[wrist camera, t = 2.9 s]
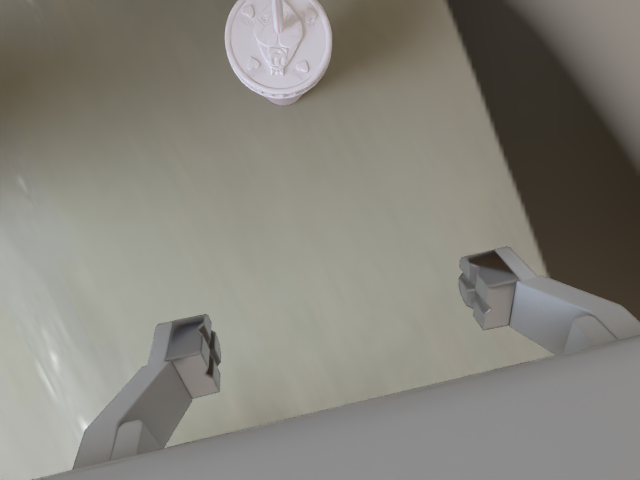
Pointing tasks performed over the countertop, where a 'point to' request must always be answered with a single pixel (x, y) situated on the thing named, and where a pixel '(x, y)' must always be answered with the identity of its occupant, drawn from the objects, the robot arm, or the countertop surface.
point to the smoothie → (278, 46)
